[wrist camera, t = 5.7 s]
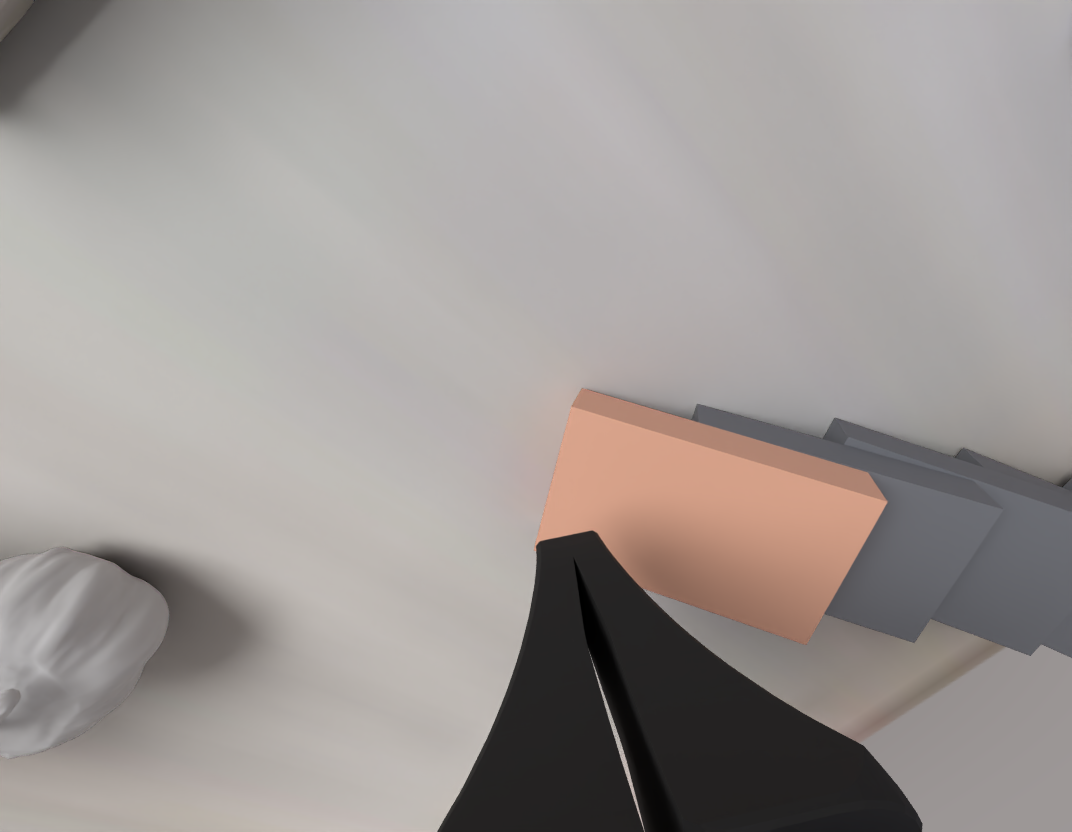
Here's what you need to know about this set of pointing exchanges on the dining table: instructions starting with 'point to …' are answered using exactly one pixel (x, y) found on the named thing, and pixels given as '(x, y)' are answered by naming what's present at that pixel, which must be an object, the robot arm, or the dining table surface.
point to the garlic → (69, 644)
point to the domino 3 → (997, 549)
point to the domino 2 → (892, 530)
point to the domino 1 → (711, 513)
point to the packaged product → (12, 14)
